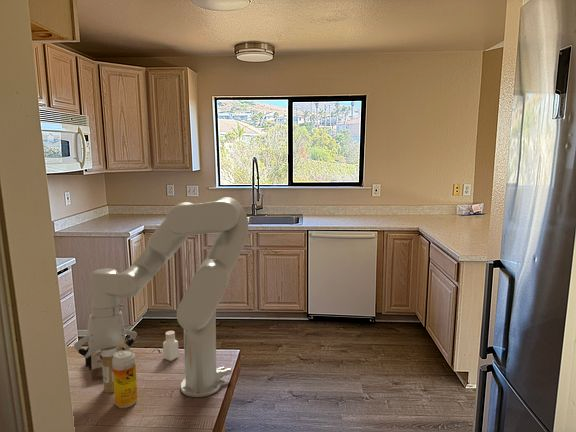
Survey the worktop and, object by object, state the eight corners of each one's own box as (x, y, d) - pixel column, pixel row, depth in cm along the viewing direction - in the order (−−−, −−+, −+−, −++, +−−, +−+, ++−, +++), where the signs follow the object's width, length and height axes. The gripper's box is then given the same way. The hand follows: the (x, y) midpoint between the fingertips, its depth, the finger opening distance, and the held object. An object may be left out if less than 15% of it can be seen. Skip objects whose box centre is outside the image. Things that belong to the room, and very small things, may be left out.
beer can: (123, 411, 110) (120, 361, 108) (110, 404, 114) (107, 355, 112) (142, 400, 116) (139, 352, 114) (128, 394, 119) (126, 347, 117)
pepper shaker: (162, 358, 140) (161, 333, 139) (171, 354, 144) (170, 329, 142) (170, 361, 138) (169, 336, 137) (179, 357, 142) (178, 331, 140)
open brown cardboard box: (127, 353, 145) (126, 338, 144) (135, 370, 133) (134, 353, 132) (88, 362, 138) (86, 346, 137) (92, 381, 126) (91, 364, 125)
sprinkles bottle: (121, 390, 121) (118, 348, 119) (104, 395, 118) (101, 352, 117) (118, 383, 125) (115, 342, 123) (102, 387, 122) (99, 346, 120)
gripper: (133, 301, 126) (134, 352, 128) (72, 311, 117) (74, 365, 119) (138, 309, 120) (139, 363, 122) (73, 319, 110) (76, 377, 113)
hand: (107, 364), depth 120 cm, fingers open, 9 cm apart
